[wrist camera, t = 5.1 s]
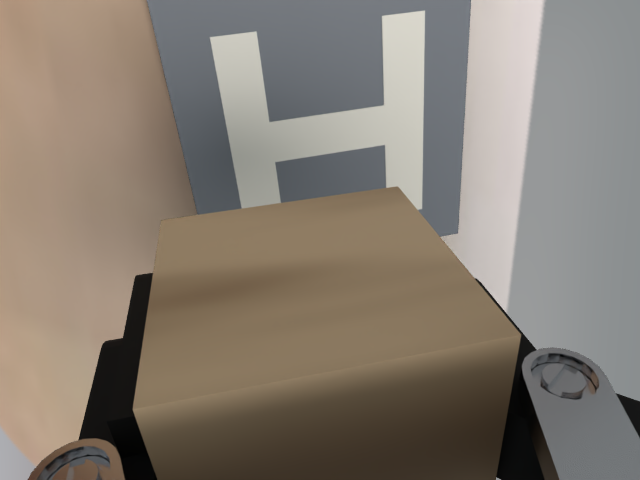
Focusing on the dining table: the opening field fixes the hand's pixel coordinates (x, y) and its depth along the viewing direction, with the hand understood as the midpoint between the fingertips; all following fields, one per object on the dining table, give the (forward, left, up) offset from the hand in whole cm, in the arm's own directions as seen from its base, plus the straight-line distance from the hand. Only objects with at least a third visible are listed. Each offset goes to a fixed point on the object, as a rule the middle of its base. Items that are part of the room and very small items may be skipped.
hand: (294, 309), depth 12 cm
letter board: (-4, -2, -16) cm, 16 cm away
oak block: (0, 0, 0) cm, 0 cm away
